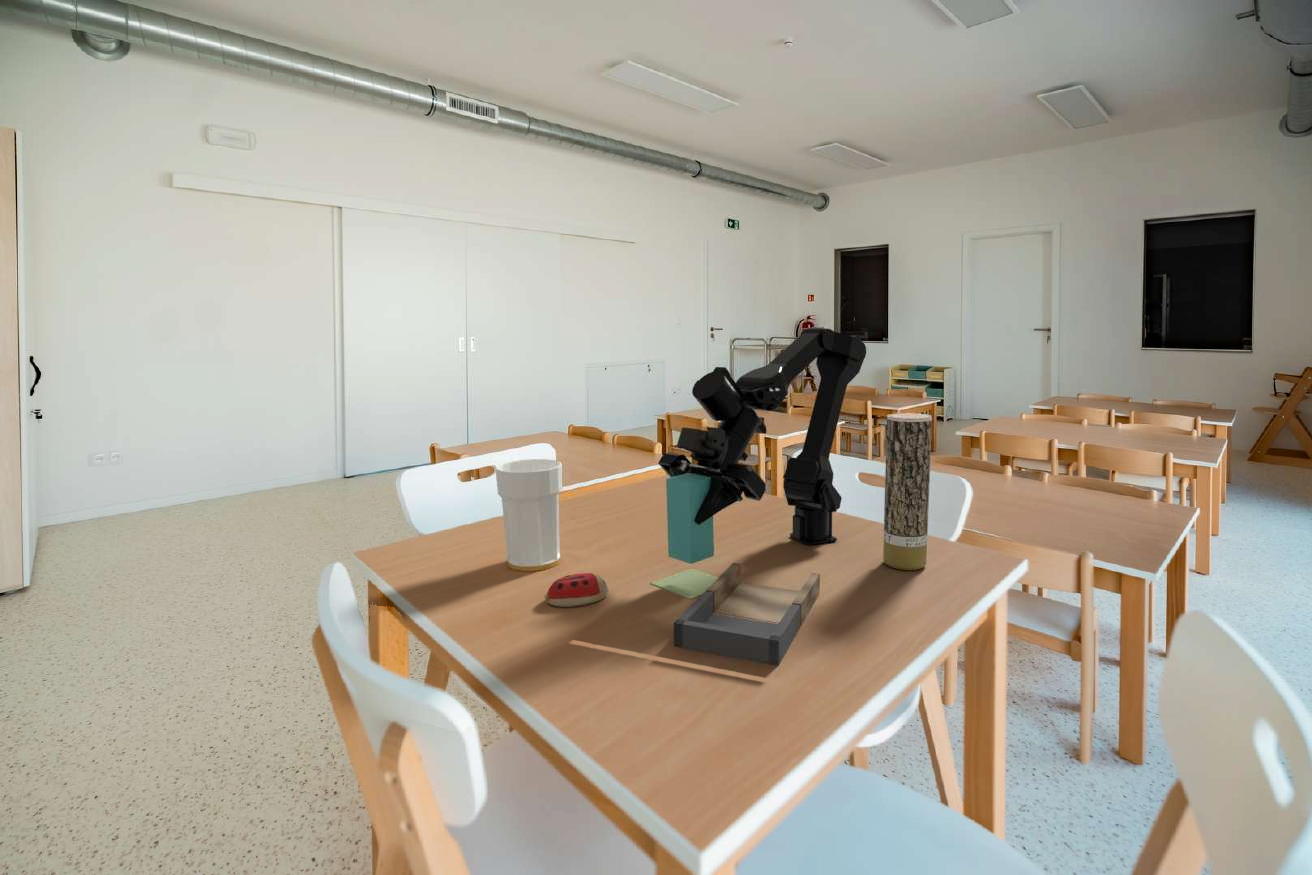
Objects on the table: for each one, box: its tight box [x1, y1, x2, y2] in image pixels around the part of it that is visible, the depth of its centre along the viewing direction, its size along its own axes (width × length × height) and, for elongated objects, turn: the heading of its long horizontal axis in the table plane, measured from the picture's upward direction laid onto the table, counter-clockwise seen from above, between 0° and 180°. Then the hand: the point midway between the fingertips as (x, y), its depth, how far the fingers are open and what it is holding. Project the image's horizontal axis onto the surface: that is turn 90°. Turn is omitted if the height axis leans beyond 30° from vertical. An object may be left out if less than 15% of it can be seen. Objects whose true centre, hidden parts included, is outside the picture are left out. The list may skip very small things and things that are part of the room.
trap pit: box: [673, 591, 801, 667], centre depth 87 cm, size 11×13×4 cm
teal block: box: [665, 473, 715, 565], centre depth 105 cm, size 5×5×12 cm
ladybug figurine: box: [544, 572, 609, 608], centre depth 102 cm, size 7×10×4 cm
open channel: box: [706, 562, 821, 628], centre depth 98 cm, size 12×13×4 cm
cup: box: [495, 458, 563, 572], centre depth 118 cm, size 11×11×17 cm
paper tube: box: [882, 412, 933, 571], centre depth 111 cm, size 7×7×25 cm
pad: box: [650, 568, 719, 600], centre depth 106 cm, size 9×9×1 cm
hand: (683, 519), depth 104 cm, fingers closed on teal block, 5 cm apart
